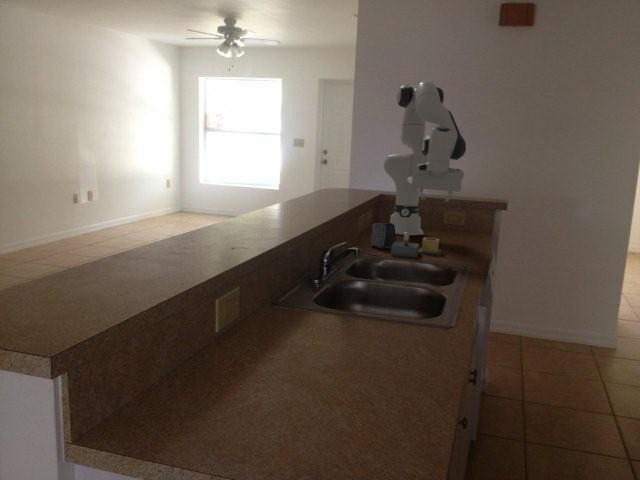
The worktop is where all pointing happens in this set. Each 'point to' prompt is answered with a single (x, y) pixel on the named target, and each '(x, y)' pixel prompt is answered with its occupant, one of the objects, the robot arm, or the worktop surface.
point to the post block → (405, 248)
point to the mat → (430, 252)
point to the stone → (383, 235)
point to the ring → (430, 245)
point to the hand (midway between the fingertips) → (434, 200)
